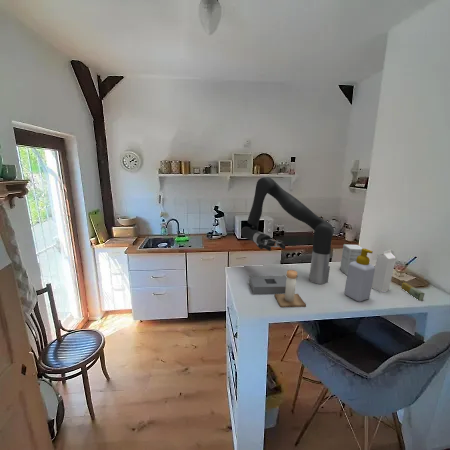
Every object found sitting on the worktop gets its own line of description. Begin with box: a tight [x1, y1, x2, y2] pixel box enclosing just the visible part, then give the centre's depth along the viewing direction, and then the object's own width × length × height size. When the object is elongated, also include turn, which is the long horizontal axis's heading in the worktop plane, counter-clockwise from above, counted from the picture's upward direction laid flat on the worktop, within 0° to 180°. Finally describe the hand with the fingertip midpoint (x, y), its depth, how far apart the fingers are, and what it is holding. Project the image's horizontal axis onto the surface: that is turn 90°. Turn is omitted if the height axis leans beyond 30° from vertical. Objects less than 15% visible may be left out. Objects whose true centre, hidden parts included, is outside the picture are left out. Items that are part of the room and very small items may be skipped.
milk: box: [371, 249, 397, 293], centre depth 131 cm, size 6×6×22 cm
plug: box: [285, 269, 298, 302], centre depth 117 cm, size 5×5×14 cm
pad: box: [273, 293, 307, 308], centre depth 119 cm, size 12×10×1 cm
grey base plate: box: [248, 275, 287, 295], centre depth 130 cm, size 20×12×4 cm, turn 96°
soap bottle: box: [343, 247, 375, 302], centre depth 122 cm, size 9×9×25 cm
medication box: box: [400, 282, 425, 301], centre depth 129 cm, size 12×3×4 cm, turn 3°
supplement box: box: [339, 243, 363, 276], centre depth 152 cm, size 10×9×17 cm
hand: (277, 248), depth 128 cm, fingers open, 8 cm apart
